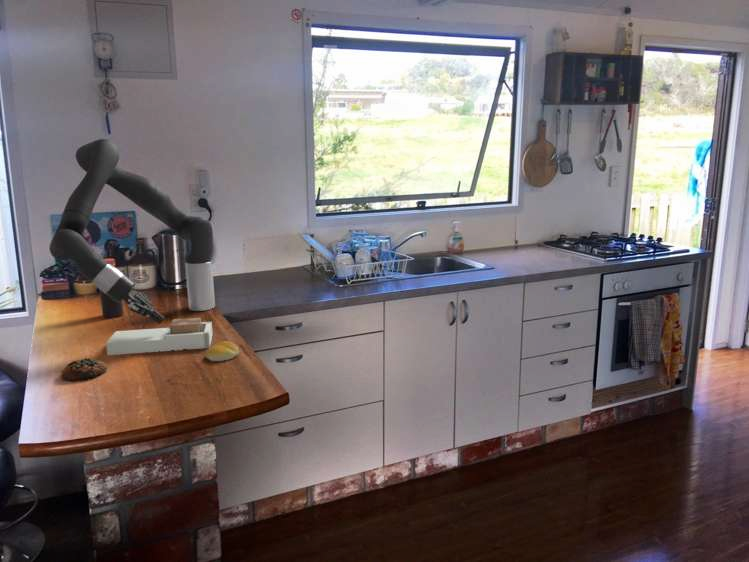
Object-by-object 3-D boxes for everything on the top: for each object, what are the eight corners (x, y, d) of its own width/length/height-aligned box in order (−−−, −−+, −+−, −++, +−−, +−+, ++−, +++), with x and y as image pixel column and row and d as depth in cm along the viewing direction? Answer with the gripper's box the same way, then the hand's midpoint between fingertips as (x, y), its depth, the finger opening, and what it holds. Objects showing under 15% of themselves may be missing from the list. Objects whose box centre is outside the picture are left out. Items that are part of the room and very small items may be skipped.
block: (173, 319, 186) (200, 317, 187) (175, 340, 187) (202, 338, 188) (170, 325, 179) (198, 323, 181) (172, 346, 181) (200, 344, 182)
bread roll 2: (200, 360, 170) (199, 346, 169) (219, 350, 178) (218, 337, 177) (225, 364, 167) (224, 350, 166) (244, 353, 175) (243, 340, 174)
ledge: (116, 342, 187) (115, 331, 186) (171, 338, 190) (170, 327, 189) (107, 355, 175) (106, 343, 175) (166, 351, 178) (165, 339, 177)
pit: (171, 338, 190) (170, 324, 189) (212, 335, 192) (211, 321, 191) (166, 351, 178) (164, 336, 177) (209, 347, 180) (208, 333, 179)
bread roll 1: (72, 385, 154) (69, 365, 153) (54, 380, 161) (51, 362, 160) (115, 374, 162) (112, 355, 161) (96, 370, 169) (94, 352, 169)
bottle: (116, 318, 213) (109, 261, 208) (98, 318, 214) (91, 261, 210) (127, 313, 219) (121, 258, 215) (110, 312, 221) (104, 257, 216)
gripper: (117, 278, 171) (167, 317, 175) (127, 269, 183) (173, 306, 188) (99, 298, 171) (149, 337, 176) (110, 287, 184) (157, 324, 188)
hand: (162, 321), depth 182 cm, fingers closed
